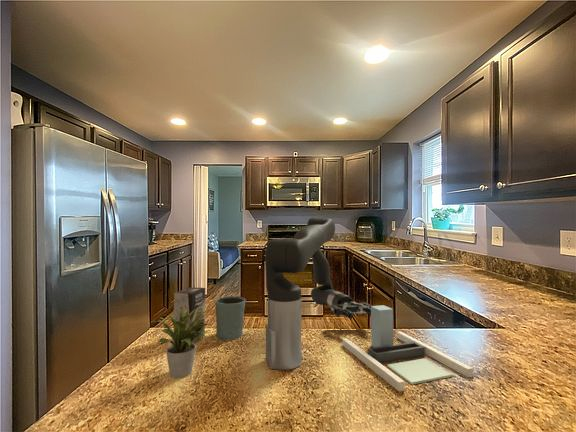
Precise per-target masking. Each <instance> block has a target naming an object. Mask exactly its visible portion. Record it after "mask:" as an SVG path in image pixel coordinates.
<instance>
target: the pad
mask: <svg viewBox="0 0 576 432" xmlns="http://www.w3.org/2000/svg"><path fill="white" fill-rule="evenodd" d="M386 366H387V367H386V368H389V370H390V371H392V372H393V373H394V374H396V375H397V376H398V377H399V376H400V378H401V379H404V381H406V382H408V383H409V385H410V384H411V385H417V384H422V383H427V382H432V381H437V380H442V379H447V378H452V377H453V374H452V373H451V372H449V371H447V370H445V369H444V368H442V367H440V366H438V365H437V364H435V363H434V362H431V361H430V360H428V359H427V358H419V359H412V360H407V361H401V362H400V361H399V362H395V363H389V364H386Z"/></svg>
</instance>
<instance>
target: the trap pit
mask: <svg viewBox="0 0 576 432" xmlns="http://www.w3.org/2000/svg"><path fill="white" fill-rule="evenodd" d="M367 354H368V355H370V356H371V357H373V358H374V359H375V360H377V361H378V362H379V363H381V364H384V363H385V364H386V363H392V362H398V361H399V362H400V361H403V360H404V361H405V360H411V359H416V358H421V357H425V356H426V354H425V347H424V346H422V345H420V344H418V343H416V342H410V343H405V342H404V343H397V344H394V345H389V346H382V347H375V348H374V347H369V348H367Z"/></svg>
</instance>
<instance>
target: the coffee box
mask: <svg viewBox="0 0 576 432" xmlns="http://www.w3.org/2000/svg"><path fill="white" fill-rule="evenodd" d="M173 295H174V298H173V300H174V301H173V317H174V318H175V320H176V322H177V326H178V330H179V313H180V308H181V306H182V317H183V314H184V312H185V310H186V309H187V308H189V310H188V315H189V314H190V313H191V312H192V311H193V310H194V309H195V308H196V309H195V311H194V312H193V313H192V315H191V317H190V318H189V320H188V322H187V324H186V327H187V326H189V325H190V324H191V323H192V322H193V321H194V319H195V318H196V317H197V316H198V315H200V314H201V313H203V312H205V311H206V288H205V287H187V288H185V289H181V290H178V291H176V292H174V294H173ZM202 318H206V312H205V313H203V314H202V315H201V316H200V317H199V319H201V320H199V319H198V321H196V322H195V323H194V325H193V326H192V327H194V326H197V325H200V324H206V322H205V321H206V319H202ZM199 321H202V322H199ZM197 322H199V323H197ZM196 323H197V324H196ZM192 327H191V328H192ZM205 327H206V325H205V326H202V327H200V328H198V329H196V330H195V331H194V333H195V332H197V331H201V330H203V331H206V330H205ZM188 328H189V327H187V328H185V329H188ZM172 330H173V332H174V335H175V337H176V334H175V330H174V328H173V329H172ZM194 333H193V334H194ZM193 334H192V335H193ZM198 334H204V335H205V334H206V333H205V332H202V333H201V332H199V333H196V334H195V335H198ZM195 335H193V336H195ZM193 336H192V337H193ZM205 336H206V335H205ZM192 337H191V338H192ZM203 337H204V336H201V337H196V338H195V339H194V338H193V339H194V340H193V339H191V341H192V340H193V341H192V342H191V343H194V344H195V343H197V342H198V341H199V340H201V339H202V338H203ZM172 341H173V340H172ZM173 342H174V341H173Z"/></svg>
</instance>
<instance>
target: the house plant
mask: <svg viewBox="0 0 576 432" xmlns="http://www.w3.org/2000/svg"><path fill="white" fill-rule="evenodd" d="M195 309H196V308H195ZM195 309H194V310H193V311H192V312H191V313H190V314H189V315H188V310H189V308H187V309H186V310H185V312H184V314H183V317H182V306H181V308H180V313H179V330H178V326H177V322H176V320H175V318H174V315H172V314H171V313H168V315H167V314H165V316H166V317H170V321H171V323H172V325H173V329H174V330H175V334H176V337H175V335H174V332H173V329H172V327H171V325H170V324H169V322H167V321H166V319H165V318H162V317H160V319H162V320H163V321H162V320H160V319H157V321H153V323H155V322H158V323H160V324H162V325H163V326H164V327H165V328H163V329H162V330H161V331H162V332H163V333H165V334H167V335H168V336H169V337H170V338H171V339H172V340H171V339H168V338H164V337H161V338H160V339H159V340H158V342H157V344H159V346H161V345H163V344H166V343H170V344H171V345H169V346H168V347H167V348H166V351H165V352H166V358H167V359H166V360H167V365H168V372H169V377H170V378H173V379H182V378H186V377H188V376H190V375H191V374H192V371H193V366H194V361H195V357H196V356H195V354H196V350H197V349H196V348H197V345H196V344H195V343H191V342H192V341H193V340H194V339H195V338H196V337H201V336H203V337H205V338H207V336H206V335H204V334H198V335H195V334H196V333H199V332H201V333H202V332H205V334H207V335H209V332H208V331H206V330H205V331H203V330H201V331H197V332H195V333H194V331H195V330H196V329H198V328H200V327H202V326H205V327H206V326H207V325H208V326H209V325H211V323H205V324H200V325H197V326H194V327H192V326H193V325H194V323H195V322H196V321H198V319H199V317H200V316H201V315H202V314H203V313H205V314H206V312H207V310H205V312H203V313H201V314H200V315H198V316H197V317H196V318H195V319H194V321H193V322H192V323H191V324H190V325H189V326H187V327H189V328H188V329H185V328H187V327H186V324H187V322H188V320H189V318H190V317H191V315H192V313H193V312H194V311H195ZM202 319H205V320H206V319H207V317H205V318H202ZM199 320H201V319H199ZM164 321H165V322H164ZM199 322H202V321H199ZM199 322H197V323H199ZM148 323H150V321H149V322H148ZM197 323H196V324H197ZM191 327H192V328H191ZM193 333H194V334H193ZM192 334H193V335H195V336H193V335H192ZM192 336H193V337H192ZM191 337H192V338H191ZM193 338H194V339H193ZM191 339H193V340H192V341H191ZM173 341H174V342H173Z"/></svg>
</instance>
